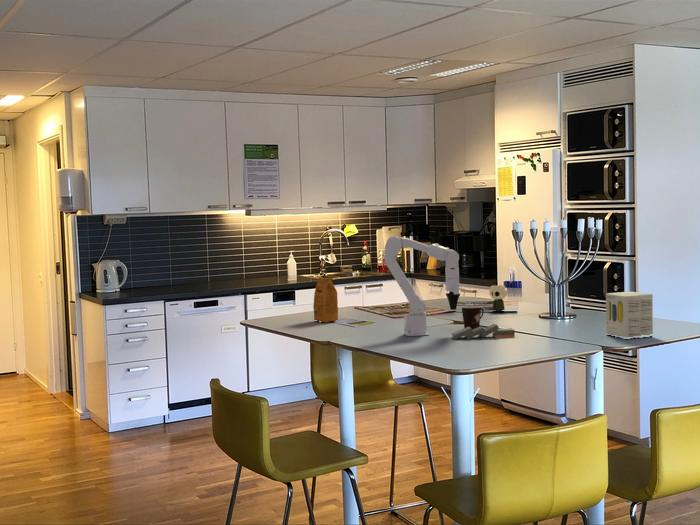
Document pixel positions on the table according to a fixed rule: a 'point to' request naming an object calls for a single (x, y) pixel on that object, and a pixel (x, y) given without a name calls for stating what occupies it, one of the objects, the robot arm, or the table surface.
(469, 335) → the domino
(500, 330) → the domino
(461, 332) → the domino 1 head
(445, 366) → the table surface
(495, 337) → the red domino
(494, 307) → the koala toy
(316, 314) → the coffee package
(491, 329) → the domino
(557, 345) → the table surface
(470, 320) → the coffee mug
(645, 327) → the supplement box
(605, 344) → the table surface
